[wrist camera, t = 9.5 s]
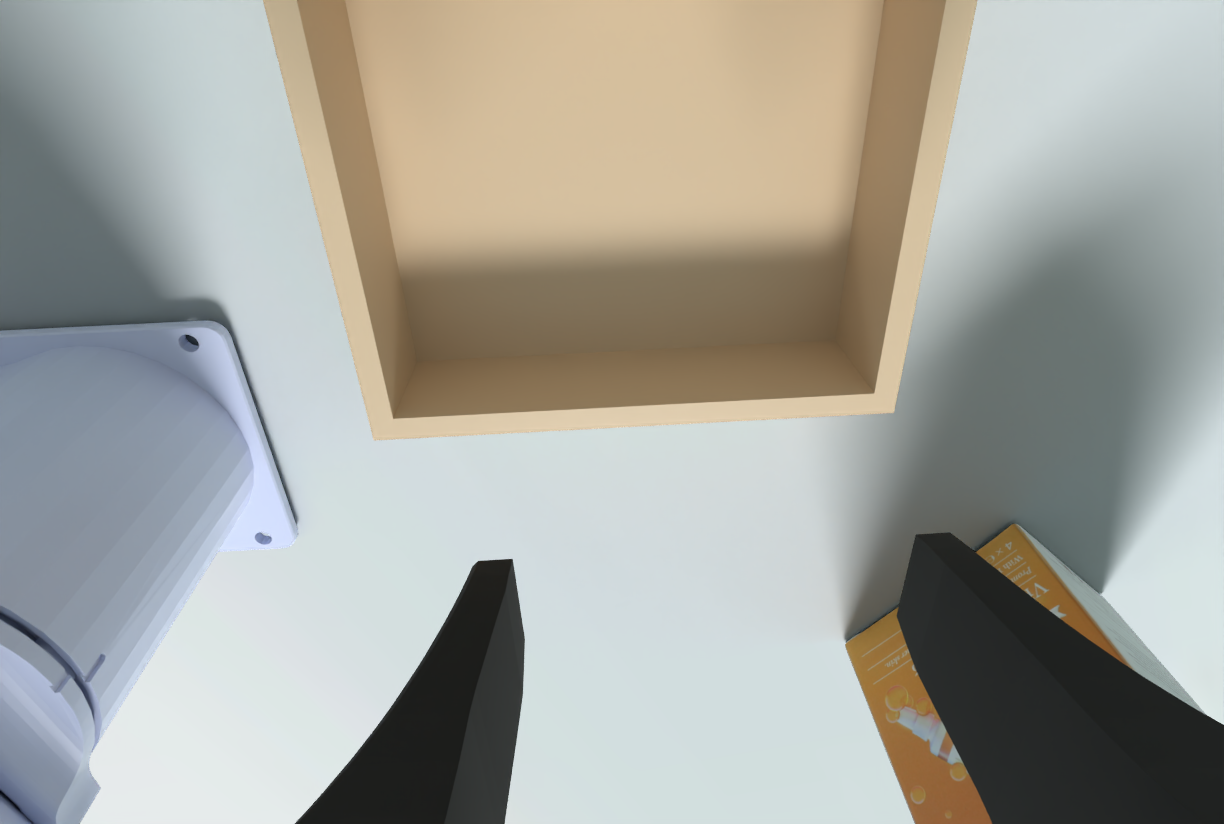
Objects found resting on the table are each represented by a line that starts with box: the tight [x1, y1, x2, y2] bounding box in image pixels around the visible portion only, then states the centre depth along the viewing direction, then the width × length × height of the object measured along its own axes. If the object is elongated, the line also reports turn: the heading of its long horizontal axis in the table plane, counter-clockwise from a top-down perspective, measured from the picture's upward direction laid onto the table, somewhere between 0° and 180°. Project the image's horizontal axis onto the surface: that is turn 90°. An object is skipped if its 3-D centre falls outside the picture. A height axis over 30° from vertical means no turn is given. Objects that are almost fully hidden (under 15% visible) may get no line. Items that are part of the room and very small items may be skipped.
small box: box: [845, 524, 1206, 824], centre depth 22 cm, size 8×6×13 cm
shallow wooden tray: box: [263, 0, 977, 440], centre depth 16 cm, size 13×12×4 cm
